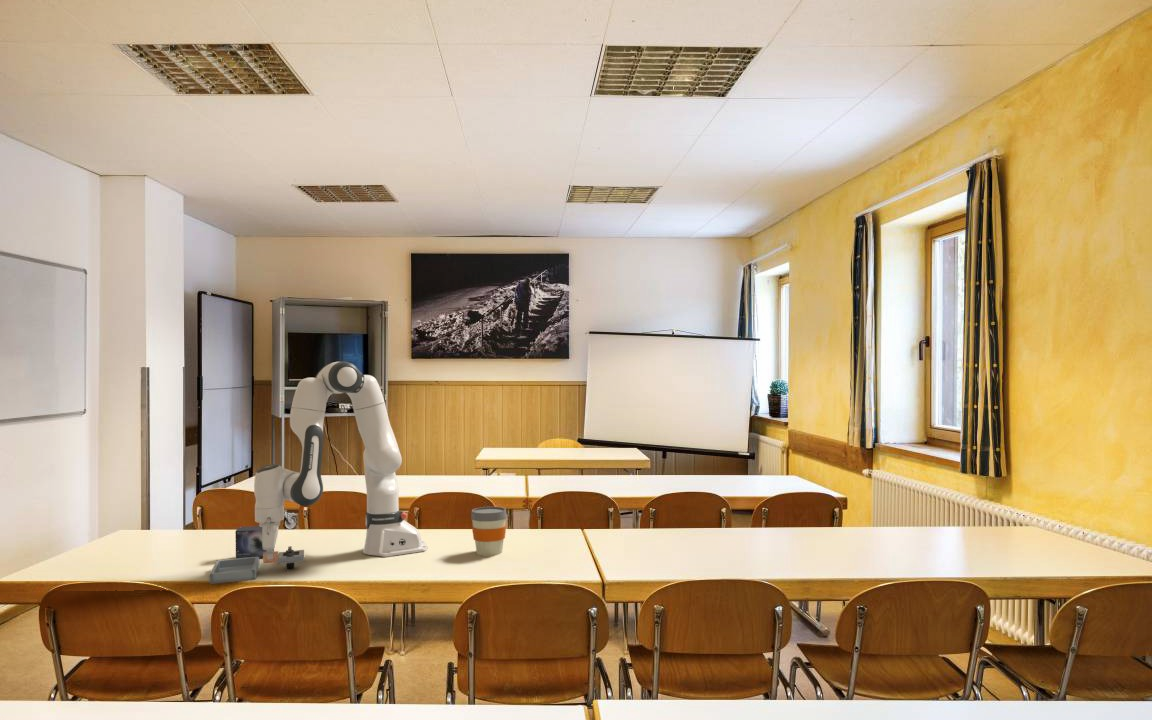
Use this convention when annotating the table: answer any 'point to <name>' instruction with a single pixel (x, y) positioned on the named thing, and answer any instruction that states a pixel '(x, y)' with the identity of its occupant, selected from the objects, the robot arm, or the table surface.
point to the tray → (234, 570)
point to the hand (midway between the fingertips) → (270, 557)
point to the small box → (249, 542)
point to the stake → (289, 553)
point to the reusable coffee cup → (489, 529)
